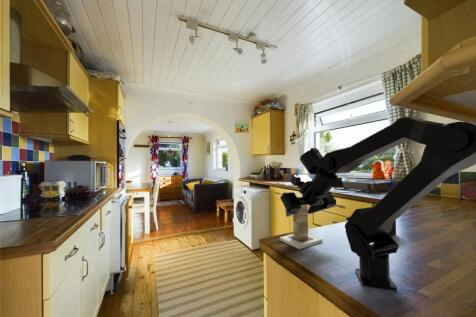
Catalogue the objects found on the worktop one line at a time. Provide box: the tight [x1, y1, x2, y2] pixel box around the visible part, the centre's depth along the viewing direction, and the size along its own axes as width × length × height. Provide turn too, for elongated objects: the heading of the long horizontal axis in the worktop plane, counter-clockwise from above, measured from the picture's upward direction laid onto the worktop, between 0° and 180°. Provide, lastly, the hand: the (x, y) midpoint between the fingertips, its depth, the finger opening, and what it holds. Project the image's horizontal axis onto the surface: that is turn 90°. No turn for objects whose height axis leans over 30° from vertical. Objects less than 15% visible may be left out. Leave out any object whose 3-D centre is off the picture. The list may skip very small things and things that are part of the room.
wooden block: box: [292, 205, 309, 240], centre depth 70 cm, size 4×4×12 cm
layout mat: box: [279, 233, 324, 250], centre depth 70 cm, size 11×9×1 cm
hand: (297, 214), depth 72 cm, fingers open, 9 cm apart
